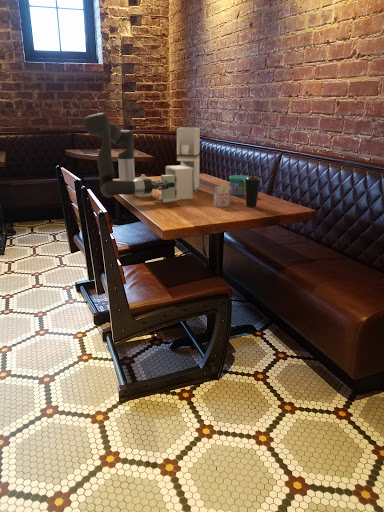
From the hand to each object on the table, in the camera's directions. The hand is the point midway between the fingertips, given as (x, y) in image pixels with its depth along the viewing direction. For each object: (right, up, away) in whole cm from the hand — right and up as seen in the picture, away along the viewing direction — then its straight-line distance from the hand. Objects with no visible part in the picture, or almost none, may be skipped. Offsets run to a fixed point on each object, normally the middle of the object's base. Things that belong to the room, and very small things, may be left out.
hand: (171, 183), depth 209 cm
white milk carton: (+25, -13, -9) cm, 30 cm away
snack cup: (+36, -3, +17) cm, 40 cm away
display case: (+8, 0, +26) cm, 27 cm away
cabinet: (+1, -6, +8) cm, 10 cm away
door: (-2, -8, +2) cm, 9 cm away
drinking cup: (+40, -13, -9) cm, 43 cm away
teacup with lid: (-16, -4, +14) cm, 22 cm away
